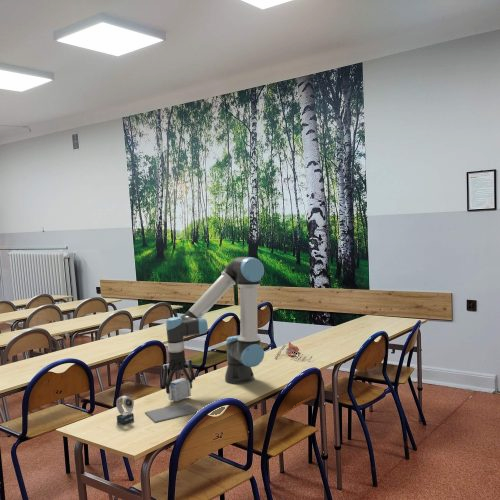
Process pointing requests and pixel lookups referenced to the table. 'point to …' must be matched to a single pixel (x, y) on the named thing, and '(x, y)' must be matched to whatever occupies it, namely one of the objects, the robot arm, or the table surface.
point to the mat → (171, 412)
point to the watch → (128, 404)
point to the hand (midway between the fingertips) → (179, 397)
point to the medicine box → (179, 389)
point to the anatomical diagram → (292, 349)
